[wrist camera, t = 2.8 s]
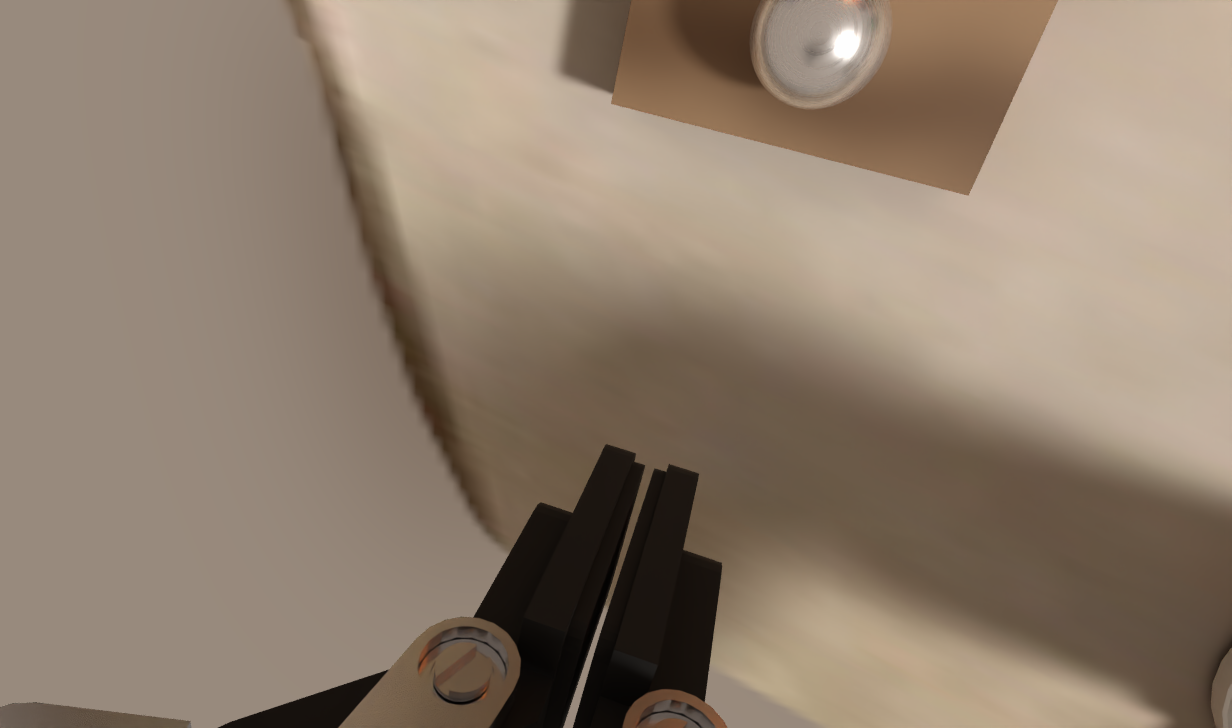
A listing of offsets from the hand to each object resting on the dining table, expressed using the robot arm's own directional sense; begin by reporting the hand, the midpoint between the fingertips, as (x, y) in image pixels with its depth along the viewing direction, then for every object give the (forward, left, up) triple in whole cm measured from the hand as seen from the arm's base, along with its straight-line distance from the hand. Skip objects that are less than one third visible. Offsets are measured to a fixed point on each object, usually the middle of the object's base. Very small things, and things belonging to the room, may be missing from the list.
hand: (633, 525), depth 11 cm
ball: (+8, -1, -11) cm, 13 cm away
